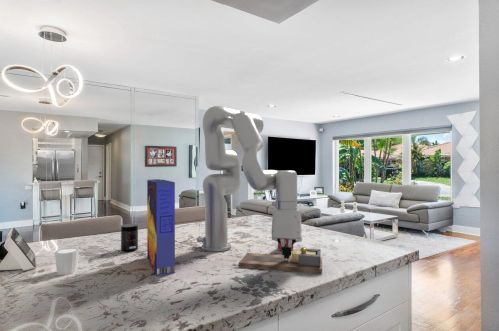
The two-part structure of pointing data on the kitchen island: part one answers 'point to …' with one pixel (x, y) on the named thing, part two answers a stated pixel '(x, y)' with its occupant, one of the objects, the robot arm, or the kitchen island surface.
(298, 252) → the bolt
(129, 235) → the supplement container
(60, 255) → the white cup
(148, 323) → the kitchen island surface
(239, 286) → the kitchen island surface
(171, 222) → the cereal box
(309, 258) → the keeper
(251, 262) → the door panel
